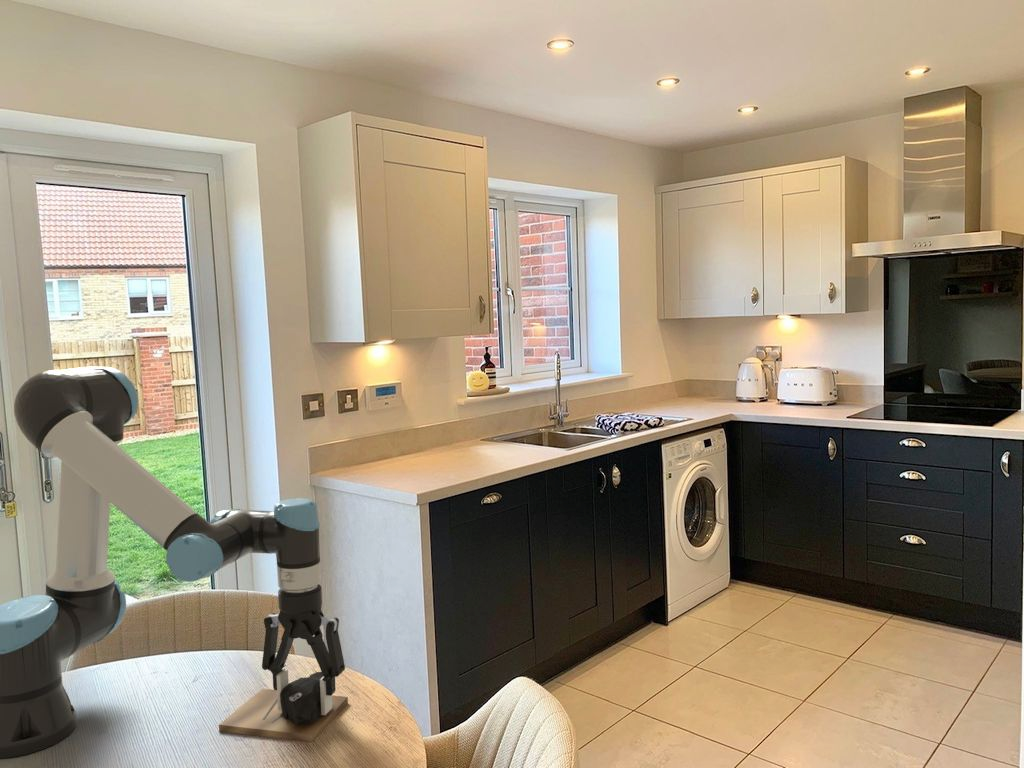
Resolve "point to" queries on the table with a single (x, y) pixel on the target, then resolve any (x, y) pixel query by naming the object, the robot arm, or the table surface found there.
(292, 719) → the rock
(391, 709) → the table surface
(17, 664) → the robot arm
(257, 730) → the board
